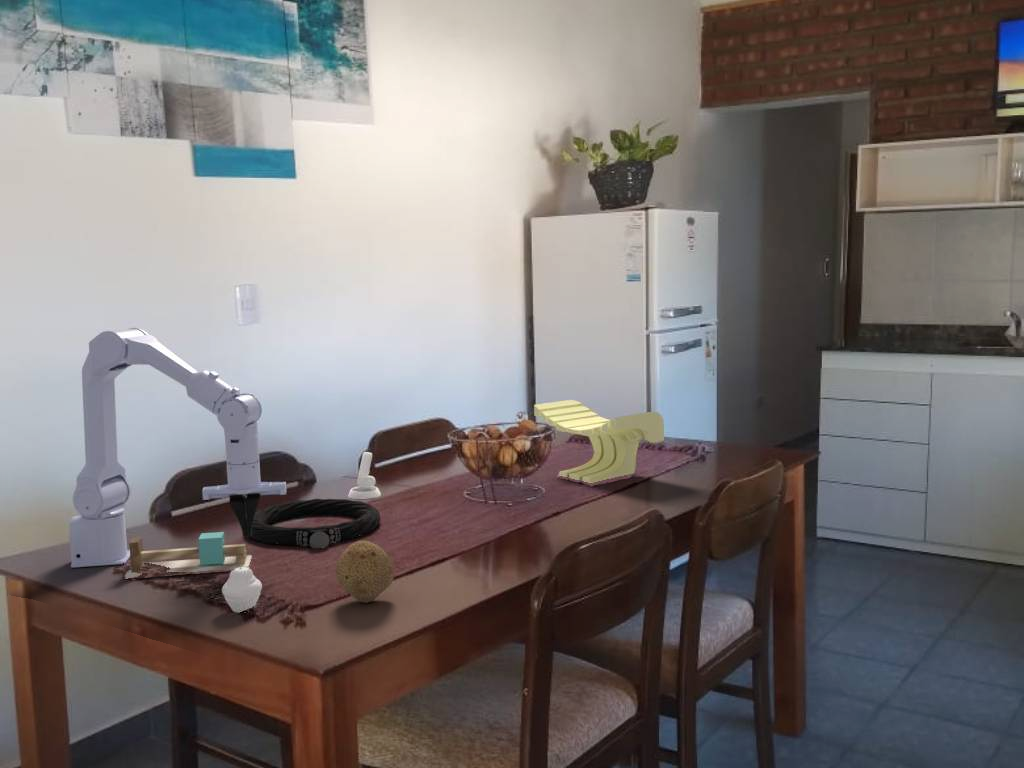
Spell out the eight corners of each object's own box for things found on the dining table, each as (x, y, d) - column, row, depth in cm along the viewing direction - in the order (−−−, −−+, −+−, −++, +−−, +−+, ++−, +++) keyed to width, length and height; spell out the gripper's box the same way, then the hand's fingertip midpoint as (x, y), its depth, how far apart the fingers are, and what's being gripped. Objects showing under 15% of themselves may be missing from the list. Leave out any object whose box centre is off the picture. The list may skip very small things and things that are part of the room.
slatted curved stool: (664, 482, 236) (663, 409, 234) (616, 492, 226) (615, 417, 224) (581, 464, 259) (580, 398, 257) (535, 473, 250) (534, 404, 248)
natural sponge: (324, 605, 155) (321, 544, 154) (360, 588, 162) (358, 530, 161) (368, 614, 150) (365, 552, 149) (403, 597, 158) (401, 537, 156)
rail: (125, 580, 170) (122, 545, 169) (133, 568, 177) (131, 535, 176) (248, 570, 174) (246, 536, 173) (251, 559, 181) (250, 526, 180)
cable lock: (371, 492, 218) (390, 525, 189) (372, 509, 219) (391, 544, 190) (244, 502, 211) (244, 538, 182) (245, 519, 211) (245, 558, 183)
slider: (200, 565, 174) (198, 539, 173) (203, 558, 177) (201, 533, 177) (223, 563, 174) (221, 537, 174) (225, 557, 178) (224, 531, 178)
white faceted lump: (269, 610, 153) (266, 567, 152) (231, 619, 150) (228, 575, 149) (254, 600, 158) (252, 558, 157) (217, 608, 155) (215, 565, 154)
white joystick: (384, 466, 238) (387, 454, 232) (377, 511, 232) (380, 501, 226) (354, 461, 237) (356, 449, 231) (346, 506, 231) (348, 495, 225)
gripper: (198, 468, 170) (203, 544, 171) (282, 463, 172) (287, 537, 174) (203, 461, 177) (208, 533, 178) (285, 456, 179) (289, 527, 181)
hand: (247, 535), depth 176 cm, fingers closed
